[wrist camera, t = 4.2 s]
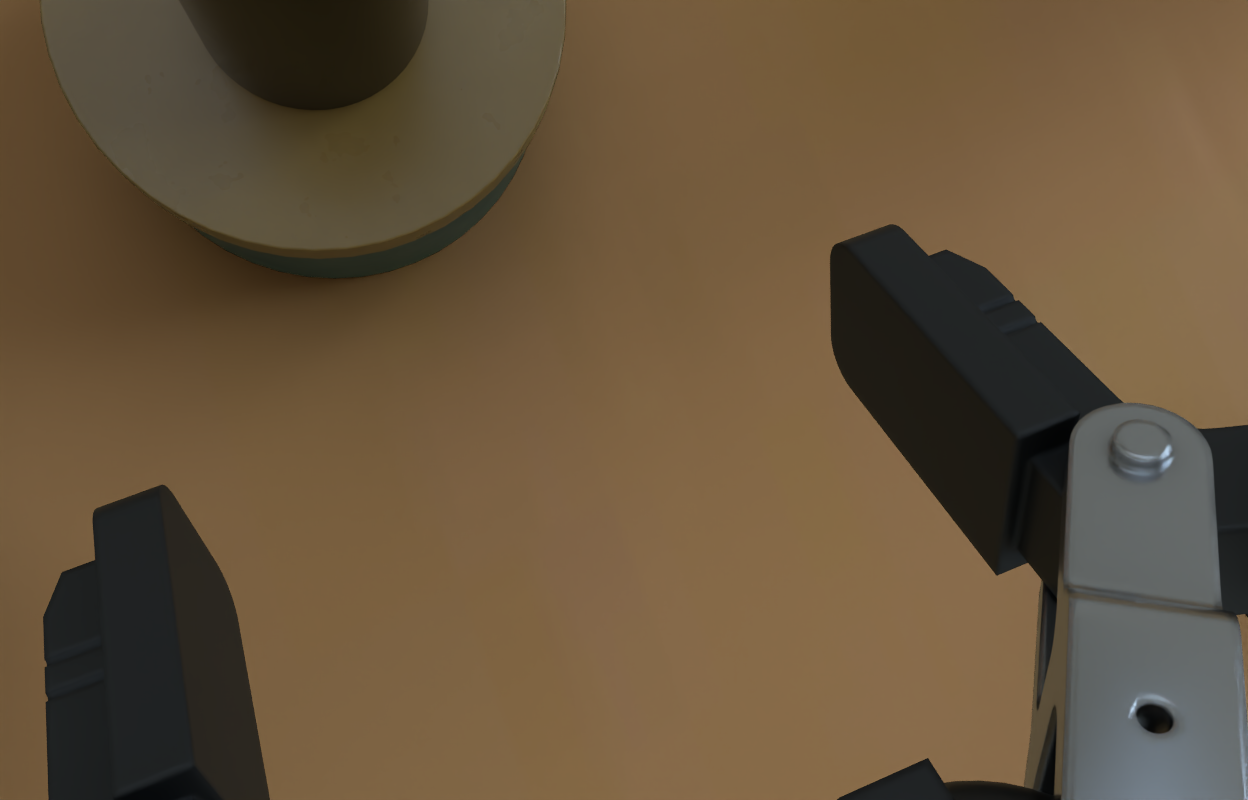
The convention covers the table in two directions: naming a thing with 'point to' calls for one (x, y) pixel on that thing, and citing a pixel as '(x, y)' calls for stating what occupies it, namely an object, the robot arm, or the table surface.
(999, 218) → the table surface
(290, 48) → the tea tin
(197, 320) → the table surface
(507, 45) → the biscuit tin
